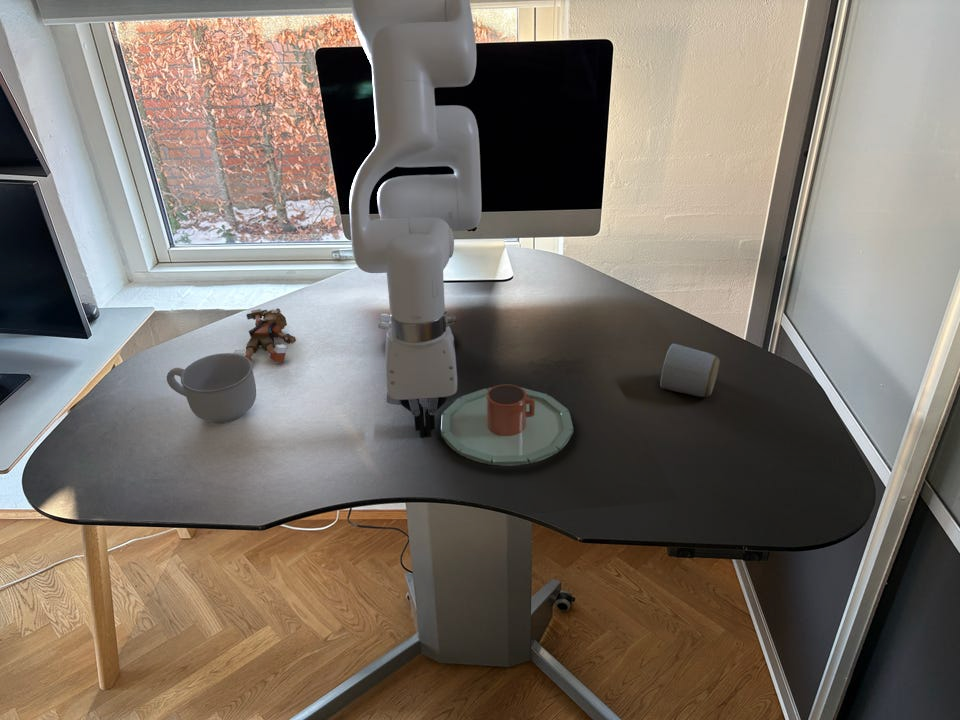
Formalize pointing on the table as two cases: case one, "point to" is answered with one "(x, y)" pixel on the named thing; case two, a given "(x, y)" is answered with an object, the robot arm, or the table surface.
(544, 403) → the plate
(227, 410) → the teacup
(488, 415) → the espresso cup
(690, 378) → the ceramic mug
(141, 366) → the table surface
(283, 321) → the character figurine
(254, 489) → the table surface
